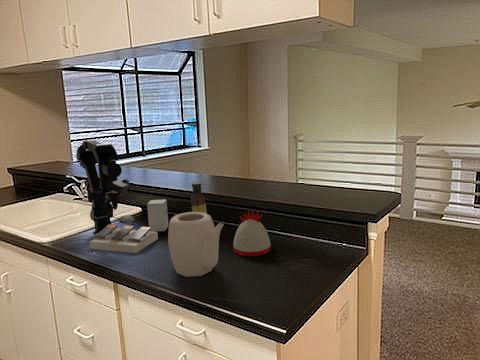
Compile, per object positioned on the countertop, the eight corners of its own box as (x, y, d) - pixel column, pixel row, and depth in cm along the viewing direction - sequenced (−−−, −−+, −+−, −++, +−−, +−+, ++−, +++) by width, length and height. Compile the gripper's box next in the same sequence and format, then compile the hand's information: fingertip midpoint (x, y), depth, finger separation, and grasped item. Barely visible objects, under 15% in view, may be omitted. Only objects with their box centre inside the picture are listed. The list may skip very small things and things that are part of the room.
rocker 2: (113, 240, 159) (112, 236, 159) (125, 228, 167) (124, 225, 166) (122, 241, 158) (121, 237, 157) (134, 229, 165) (133, 225, 165)
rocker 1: (96, 238, 162) (95, 235, 161) (109, 227, 170) (108, 224, 169) (105, 239, 160) (104, 236, 160) (118, 228, 168) (117, 224, 168)
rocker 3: (130, 241, 157) (129, 238, 156) (142, 230, 164) (141, 226, 164) (140, 242, 155) (139, 238, 154) (151, 230, 163) (151, 227, 162)
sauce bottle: (208, 224, 183) (206, 181, 180) (206, 228, 177) (203, 184, 173) (194, 224, 184) (191, 181, 180) (191, 228, 178) (188, 184, 174)
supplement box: (165, 231, 176) (163, 203, 174) (149, 231, 177) (146, 203, 174) (169, 226, 184) (166, 199, 181) (152, 226, 184) (150, 199, 181)
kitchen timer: (267, 256, 143) (266, 216, 140) (230, 255, 146) (227, 215, 143) (272, 243, 156) (271, 205, 153) (237, 242, 159) (236, 205, 156)
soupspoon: (125, 226, 191) (137, 223, 195) (125, 219, 190) (137, 216, 195) (101, 216, 205) (113, 214, 210) (101, 210, 205) (113, 207, 209)
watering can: (207, 292, 119) (203, 230, 115) (154, 269, 137) (149, 215, 133) (243, 273, 130) (240, 217, 126) (189, 255, 148) (185, 205, 144)
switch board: (88, 248, 159) (87, 238, 159) (113, 235, 174) (112, 225, 173) (137, 253, 152) (136, 242, 151) (159, 239, 166) (159, 229, 166)
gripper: (108, 179, 152) (113, 219, 155) (136, 170, 169) (140, 206, 172) (84, 179, 156) (89, 217, 159) (114, 170, 173) (118, 205, 176)
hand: (110, 211), depth 166 cm, fingers open, 6 cm apart
